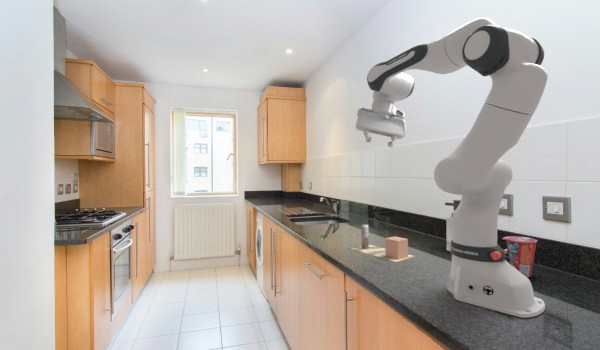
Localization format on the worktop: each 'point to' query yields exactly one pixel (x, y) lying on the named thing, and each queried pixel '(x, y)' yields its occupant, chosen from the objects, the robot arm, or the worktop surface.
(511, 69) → the robot arm
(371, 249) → the birch strip
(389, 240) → the terracotta block
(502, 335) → the worktop surface
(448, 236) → the soap dispenser
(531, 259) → the cup
